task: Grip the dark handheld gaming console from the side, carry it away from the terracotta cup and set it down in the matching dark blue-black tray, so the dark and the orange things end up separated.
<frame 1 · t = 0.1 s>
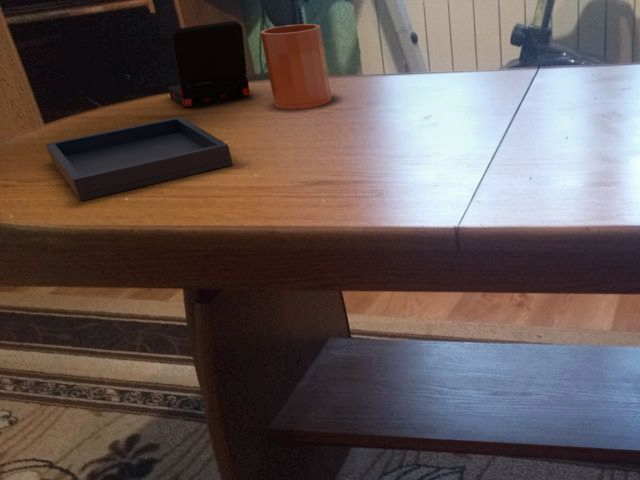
dark tray: (139, 163, 77), on the table
handheld gaming console: (213, 100, 103), on the table
terracotta cup: (303, 102, 97), on the table
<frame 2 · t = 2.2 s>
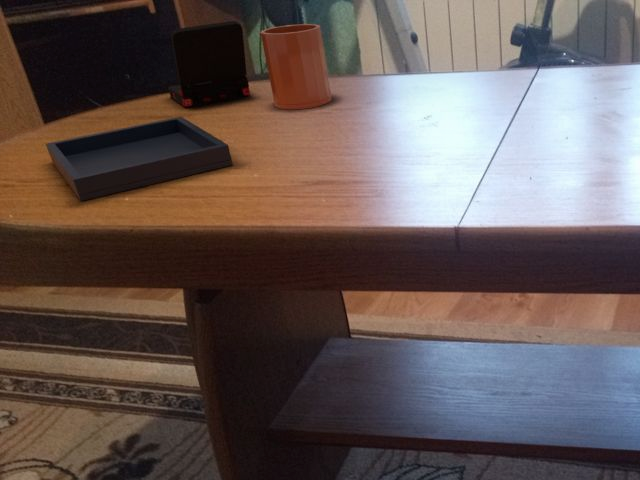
nothing on the table moved.
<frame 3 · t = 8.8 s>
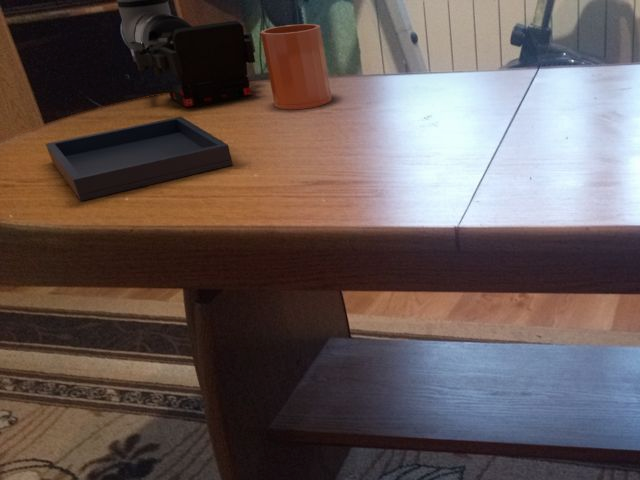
hand: (214, 57, 95), 6 cm above the table, tool horizontal, fingers closed on handheld gaming console, 9 cm apart
handheld gaming console: (214, 100, 103), on the table, touching gripper
everything else where it was.
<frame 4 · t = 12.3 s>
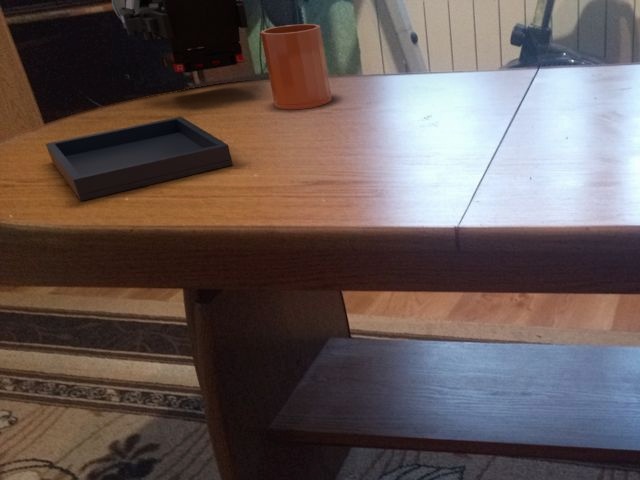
hand: (206, 21, 93), 10 cm above the table, tool horizontal, fingers closed on handheld gaming console, 9 cm apart
handheld gaming console: (205, 67, 100), point 4 cm above the table, touching gripper
everything else where it was.
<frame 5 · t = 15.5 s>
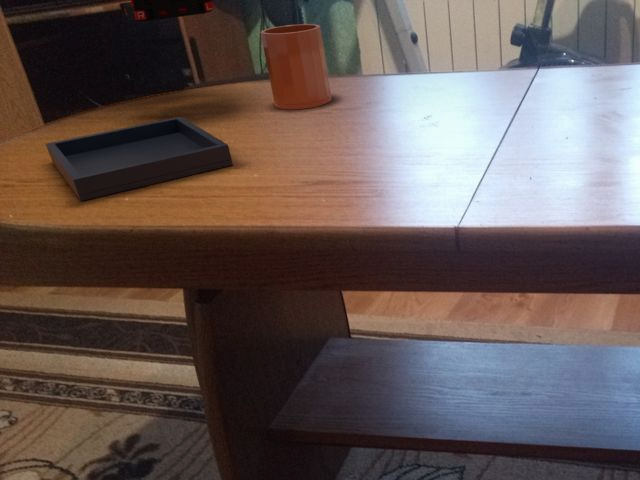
handheld gaming console: (171, 16, 89), point 12 cm above the table, touching gripper
everything else where it was.
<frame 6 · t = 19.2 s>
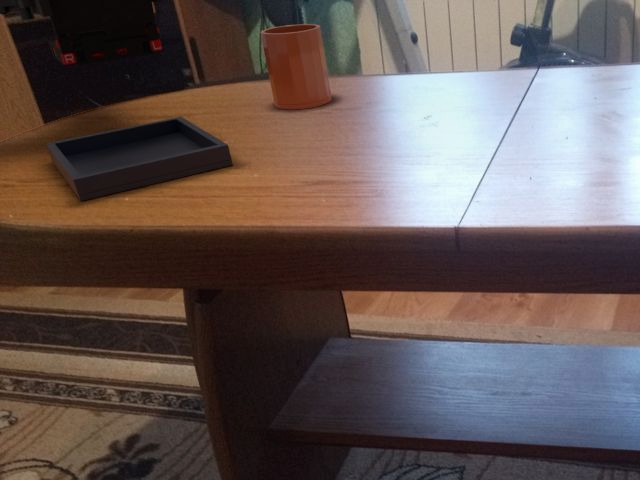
handheld gaming console: (111, 58, 73), point 10 cm above the table, touching gripper
everything else where it was.
when the fingers open (7 cm above the table, at t = 22.4 s): handheld gaming console stays where it is, resting on dark tray.
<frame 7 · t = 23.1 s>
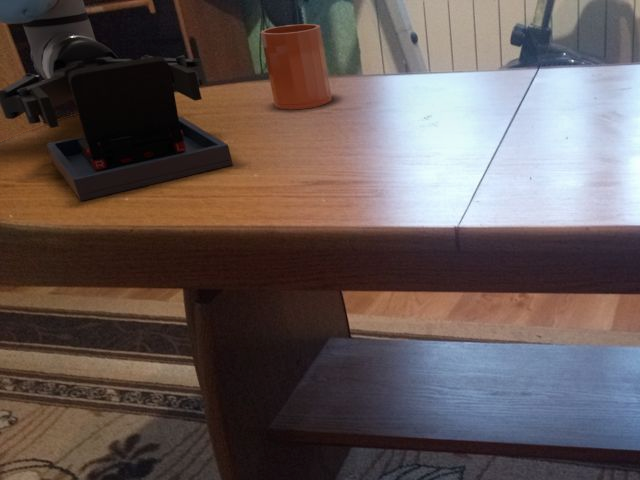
hand: (125, 98, 71), 7 cm above the table, tool horizontal, fingers open, 13 cm apart
handheld gaming console: (137, 157, 78), resting on dark tray
everything else where it was.
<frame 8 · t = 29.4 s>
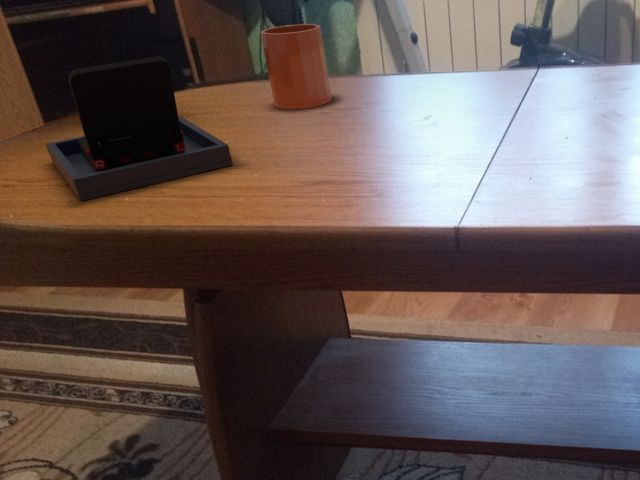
nothing on the table moved.
at the end: handheld gaming console inside the target area in the dark tray (1.0 cm from its centre), point 0.4 cm above the dark tray's base; handheld gaming console tilted 0°; terracotta cup moved 0.0 cm from its start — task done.
